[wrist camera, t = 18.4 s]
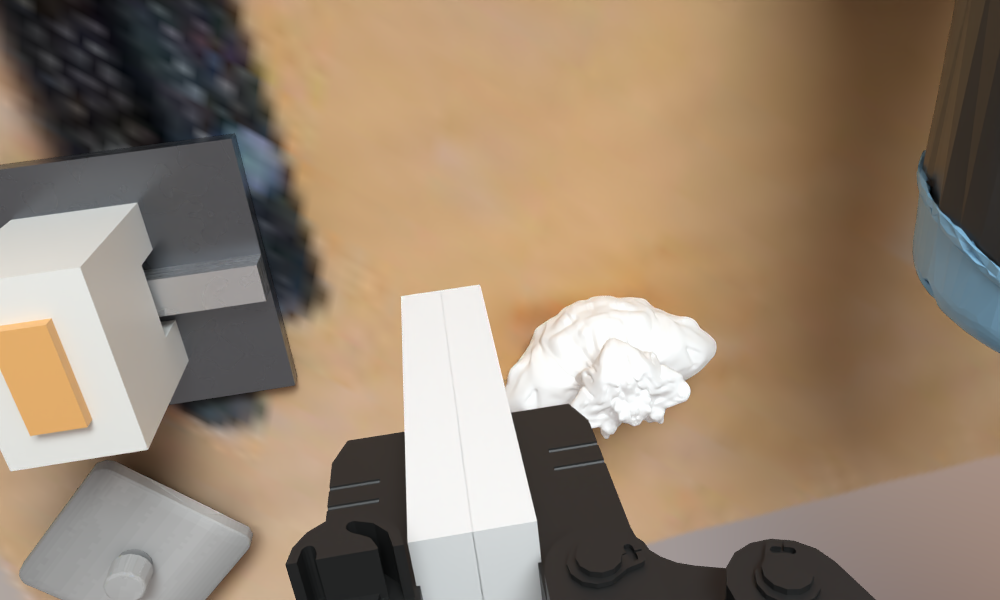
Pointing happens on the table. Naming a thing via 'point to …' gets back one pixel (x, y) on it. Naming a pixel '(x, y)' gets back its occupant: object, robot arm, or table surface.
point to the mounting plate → (181, 250)
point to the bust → (610, 362)
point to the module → (81, 339)
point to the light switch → (134, 542)
